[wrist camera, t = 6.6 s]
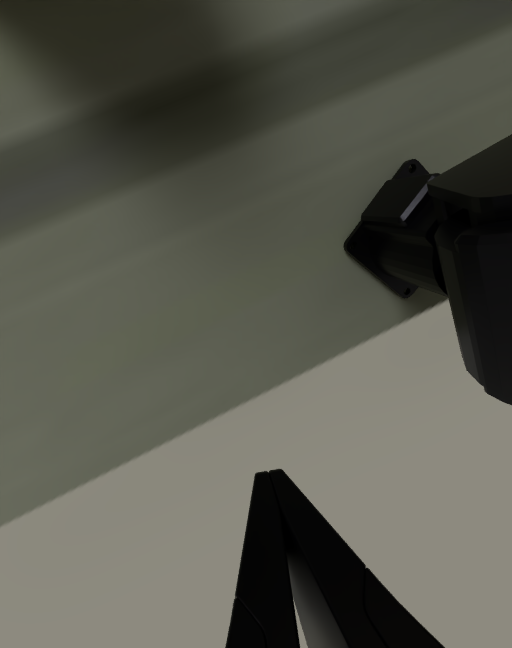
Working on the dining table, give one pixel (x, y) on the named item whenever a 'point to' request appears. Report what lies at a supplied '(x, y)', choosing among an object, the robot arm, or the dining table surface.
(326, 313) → the dining table surface
